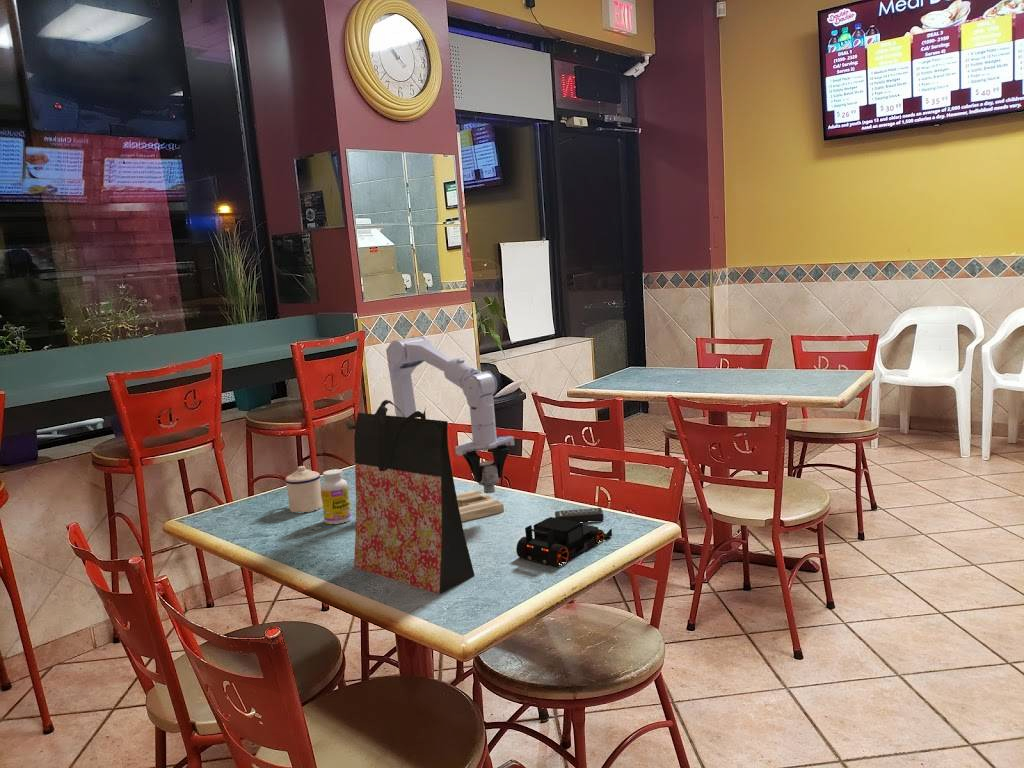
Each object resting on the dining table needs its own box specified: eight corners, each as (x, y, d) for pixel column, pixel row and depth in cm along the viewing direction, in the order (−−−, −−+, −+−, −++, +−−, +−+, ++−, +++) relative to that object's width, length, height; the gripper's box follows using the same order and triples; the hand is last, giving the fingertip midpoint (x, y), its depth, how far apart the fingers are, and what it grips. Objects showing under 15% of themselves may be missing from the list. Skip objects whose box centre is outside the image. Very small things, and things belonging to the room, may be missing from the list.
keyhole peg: (475, 491, 183) (473, 464, 182) (494, 487, 186) (491, 460, 185) (484, 496, 179) (481, 468, 178) (503, 491, 181) (501, 464, 180)
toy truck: (612, 538, 165) (610, 506, 164) (556, 571, 151) (553, 535, 150) (574, 531, 172) (571, 499, 171) (516, 561, 158) (513, 527, 156)
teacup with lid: (330, 505, 206) (325, 464, 204) (303, 516, 199) (297, 472, 197) (303, 500, 213) (298, 460, 212) (276, 509, 207) (270, 468, 205)
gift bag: (484, 570, 153) (468, 399, 147) (433, 597, 142) (414, 413, 137) (389, 545, 172) (372, 392, 167) (337, 567, 161) (317, 405, 156)
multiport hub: (604, 522, 176) (603, 513, 176) (556, 526, 176) (556, 517, 176) (601, 516, 180) (600, 507, 180) (555, 520, 180) (554, 511, 180)
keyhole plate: (424, 508, 196) (423, 501, 196) (477, 496, 203) (476, 489, 203) (448, 525, 182) (447, 517, 182) (504, 511, 189) (503, 503, 188)
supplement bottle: (332, 527, 188) (326, 476, 186) (320, 522, 193) (313, 472, 191) (356, 519, 192) (350, 470, 190) (343, 514, 197) (337, 466, 195)
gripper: (461, 431, 173) (467, 489, 175) (518, 421, 179) (522, 476, 182) (449, 426, 179) (455, 482, 181) (504, 416, 186) (509, 470, 188)
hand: (488, 479), depth 182 cm, fingers closed on keyhole peg, 5 cm apart
